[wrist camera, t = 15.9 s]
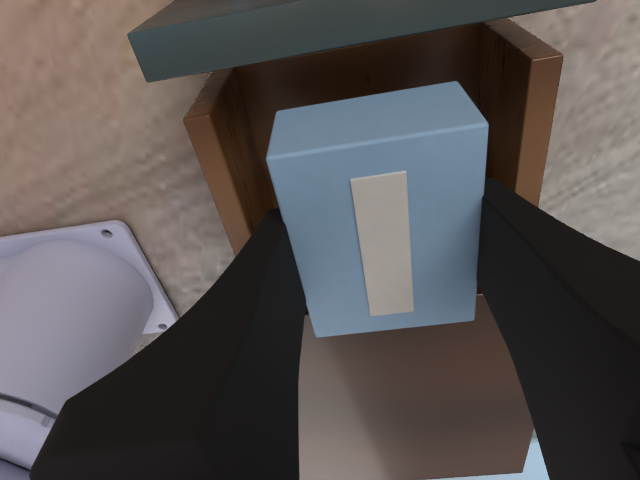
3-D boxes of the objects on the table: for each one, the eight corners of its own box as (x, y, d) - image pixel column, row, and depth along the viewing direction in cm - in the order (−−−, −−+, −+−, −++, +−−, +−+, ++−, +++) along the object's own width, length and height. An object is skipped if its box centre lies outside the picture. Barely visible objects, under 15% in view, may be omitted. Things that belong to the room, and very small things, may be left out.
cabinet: (246, 214, 21) (220, 324, 16) (503, 177, 20) (572, 284, 14) (302, 380, 30) (298, 488, 24) (484, 362, 29) (522, 473, 23)
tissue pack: (316, 278, 15) (315, 341, 13) (275, 109, 11) (263, 159, 9) (453, 261, 14) (476, 323, 12) (458, 78, 11) (491, 124, 8)
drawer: (90, -287, 11) (-59, -405, 7) (550, -417, 10) (732, -665, 5) (274, 277, 23) (263, 364, 19) (489, 250, 22) (530, 337, 17)
